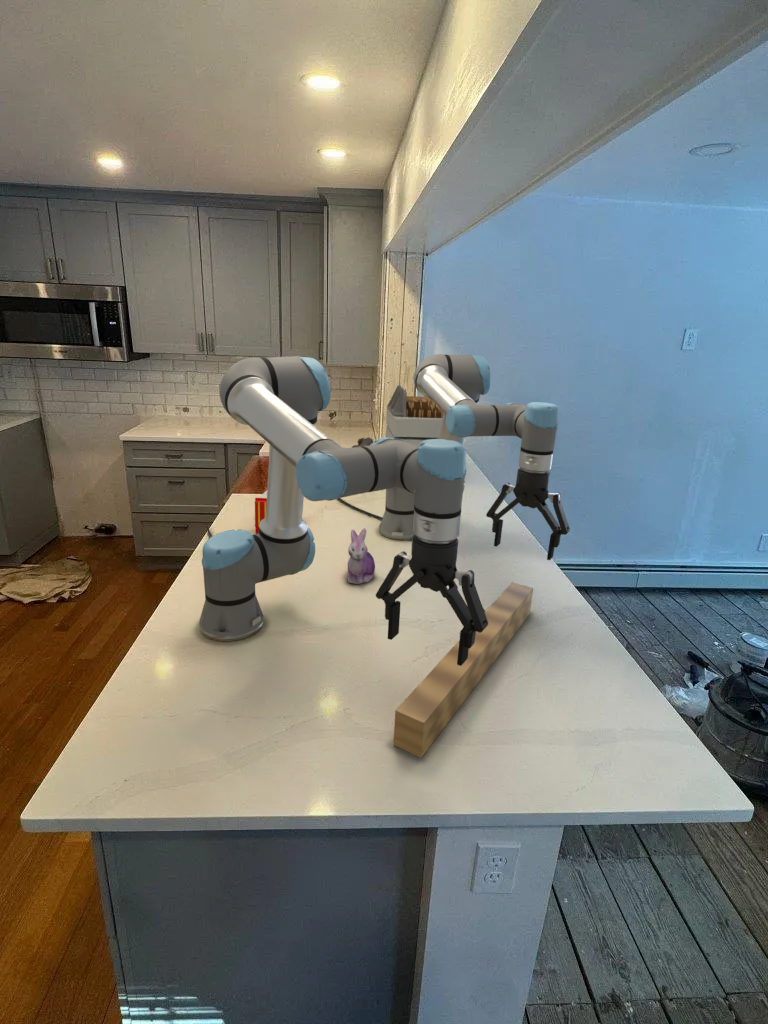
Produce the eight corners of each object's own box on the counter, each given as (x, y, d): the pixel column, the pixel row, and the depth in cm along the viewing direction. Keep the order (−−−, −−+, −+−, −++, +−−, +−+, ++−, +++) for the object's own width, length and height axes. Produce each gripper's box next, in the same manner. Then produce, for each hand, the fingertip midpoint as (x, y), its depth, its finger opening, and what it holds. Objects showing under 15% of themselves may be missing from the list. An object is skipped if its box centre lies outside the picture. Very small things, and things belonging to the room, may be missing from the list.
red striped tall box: (297, 485, 216) (285, 500, 186) (296, 519, 219) (286, 539, 189) (264, 484, 215) (248, 499, 186) (265, 519, 218) (249, 538, 189)
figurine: (352, 587, 160) (354, 538, 155) (338, 573, 168) (339, 526, 163) (382, 582, 164) (384, 534, 159) (367, 567, 172) (369, 521, 167)
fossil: (348, 443, 308) (370, 428, 303) (359, 457, 311) (381, 442, 306) (342, 457, 289) (365, 441, 284) (354, 472, 292) (377, 456, 287)
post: (508, 607, 153) (512, 582, 151) (529, 613, 151) (533, 588, 148) (393, 745, 103) (395, 710, 101) (421, 758, 100) (424, 722, 98)
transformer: (382, 463, 289) (386, 382, 275) (445, 464, 293) (451, 384, 279) (390, 482, 257) (394, 392, 243) (460, 483, 261) (468, 394, 247)
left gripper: (358, 525, 95) (355, 635, 102) (500, 563, 83) (485, 684, 90) (382, 513, 101) (377, 617, 108) (517, 547, 89) (502, 661, 96)
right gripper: (478, 463, 137) (470, 544, 144) (584, 482, 125) (569, 569, 132) (490, 457, 143) (481, 535, 150) (591, 475, 131) (577, 558, 139)
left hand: (426, 648), depth 99 cm, fingers open, 13 cm apart
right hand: (522, 551), depth 141 cm, fingers open, 13 cm apart
